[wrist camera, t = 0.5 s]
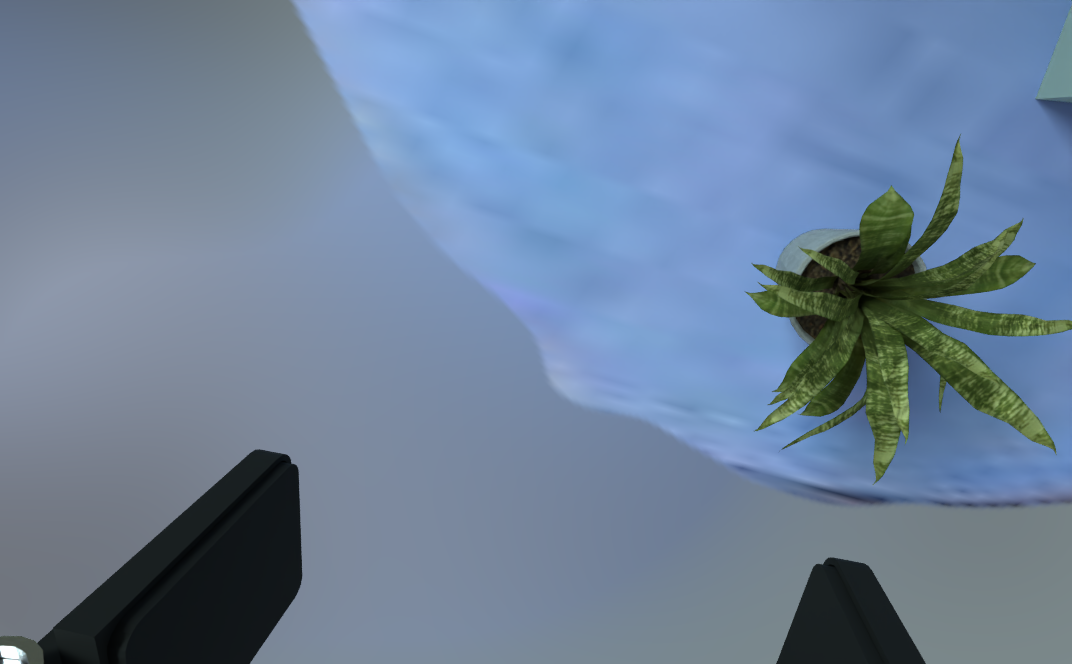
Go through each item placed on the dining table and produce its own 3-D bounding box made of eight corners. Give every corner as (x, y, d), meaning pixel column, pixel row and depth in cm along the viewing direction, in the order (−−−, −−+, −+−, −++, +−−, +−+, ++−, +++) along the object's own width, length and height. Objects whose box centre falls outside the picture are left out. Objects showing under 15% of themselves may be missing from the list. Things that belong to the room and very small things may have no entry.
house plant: (676, 168, 35) (721, 198, 20) (920, 104, 32) (1194, 82, 17) (713, 373, 39) (775, 528, 24) (932, 333, 36) (1160, 481, 21)
